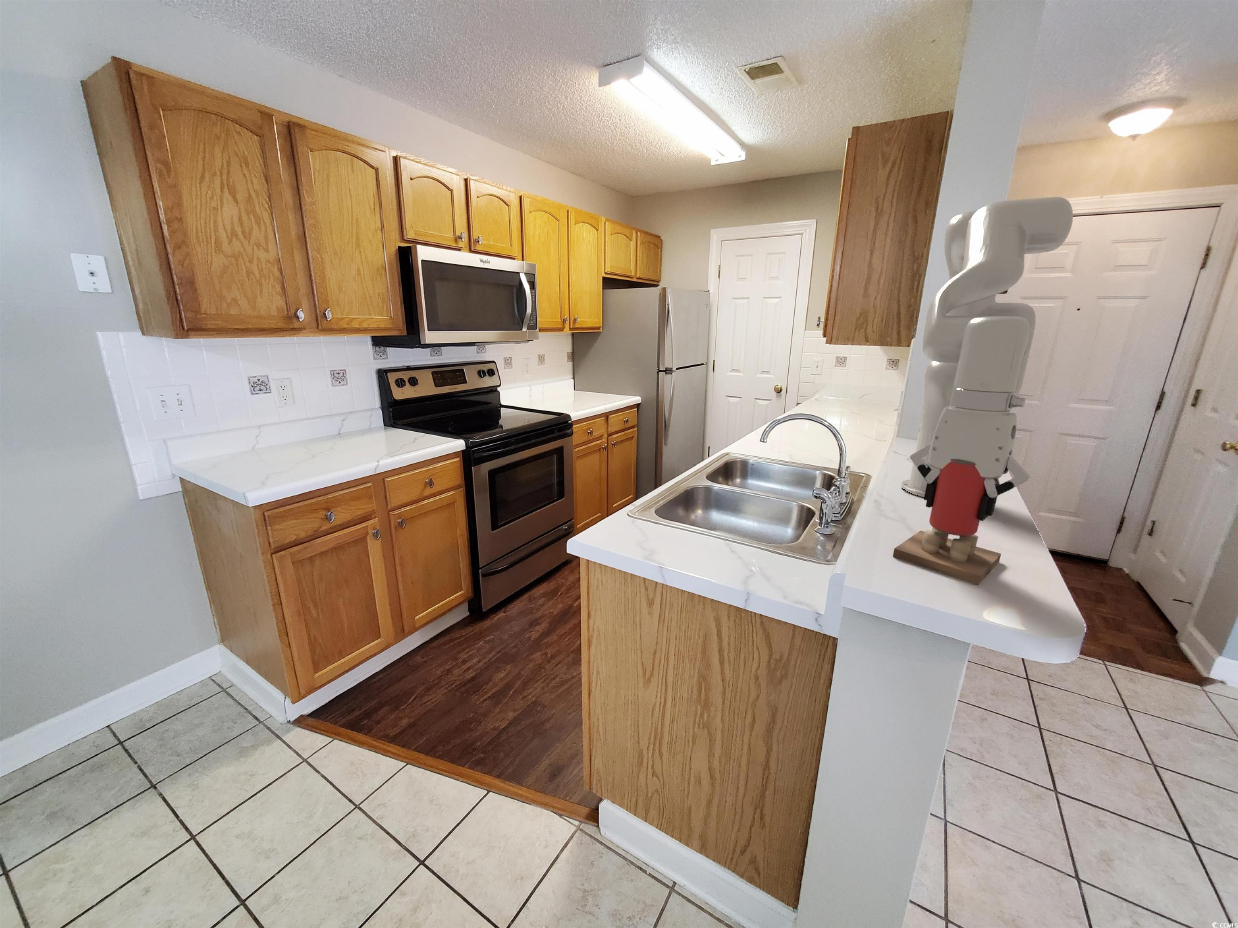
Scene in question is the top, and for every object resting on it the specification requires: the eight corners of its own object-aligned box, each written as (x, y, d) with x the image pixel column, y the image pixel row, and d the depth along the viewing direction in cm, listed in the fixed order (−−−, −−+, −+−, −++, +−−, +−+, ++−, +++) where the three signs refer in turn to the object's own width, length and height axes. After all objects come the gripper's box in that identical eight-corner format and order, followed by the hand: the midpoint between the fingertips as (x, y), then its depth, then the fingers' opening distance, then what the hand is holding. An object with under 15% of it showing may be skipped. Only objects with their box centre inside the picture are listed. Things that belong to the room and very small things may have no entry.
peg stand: (918, 538, 89) (923, 515, 88) (999, 561, 80) (1005, 536, 79) (892, 556, 81) (897, 531, 80) (978, 585, 72) (984, 557, 71)
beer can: (978, 541, 75) (995, 466, 72) (928, 531, 78) (943, 459, 75) (975, 527, 80) (991, 457, 77) (928, 518, 84) (942, 451, 80)
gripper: (1059, 406, 70) (1028, 522, 75) (925, 393, 82) (906, 493, 87) (1049, 412, 65) (1017, 535, 70) (908, 396, 78) (889, 502, 82)
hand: (956, 510), depth 78 cm, fingers closed on beer can, 6 cm apart
